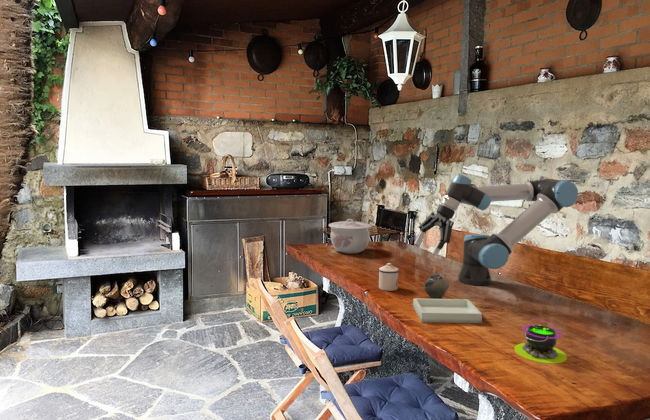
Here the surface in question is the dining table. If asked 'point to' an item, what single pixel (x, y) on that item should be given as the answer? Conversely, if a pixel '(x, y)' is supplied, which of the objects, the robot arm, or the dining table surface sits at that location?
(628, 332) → the dining table surface
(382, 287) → the teacup with lid
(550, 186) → the robot arm
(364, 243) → the chamber pot
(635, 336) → the dining table surface
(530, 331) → the toy cauldron
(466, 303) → the serving tray
